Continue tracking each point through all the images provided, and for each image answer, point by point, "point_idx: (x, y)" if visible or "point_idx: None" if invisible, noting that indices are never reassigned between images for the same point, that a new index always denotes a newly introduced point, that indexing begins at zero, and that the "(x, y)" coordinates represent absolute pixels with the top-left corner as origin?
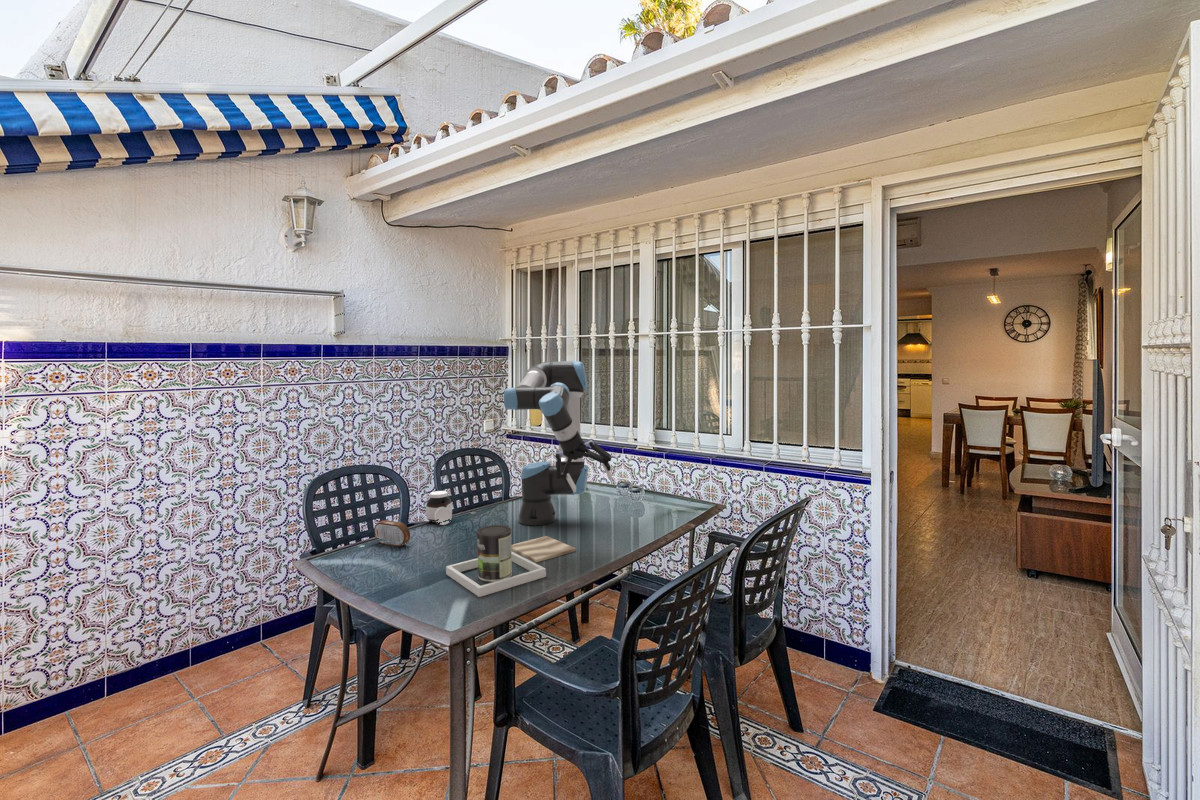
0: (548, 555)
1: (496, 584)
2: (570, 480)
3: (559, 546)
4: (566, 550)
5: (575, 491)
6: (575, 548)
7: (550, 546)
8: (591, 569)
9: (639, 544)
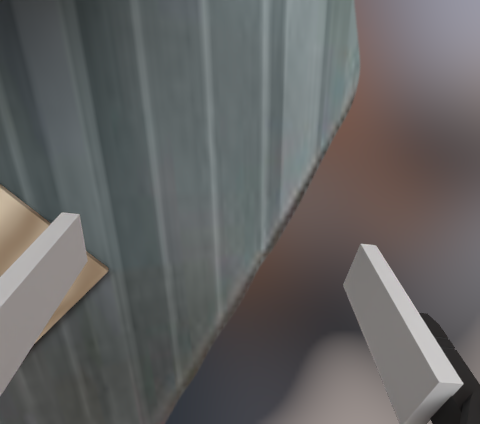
0: None
1: None
2: (26, 334)
3: None
4: (79, 294)
5: (84, 265)
6: (107, 271)
7: (3, 266)
8: (174, 383)
9: (281, 195)
